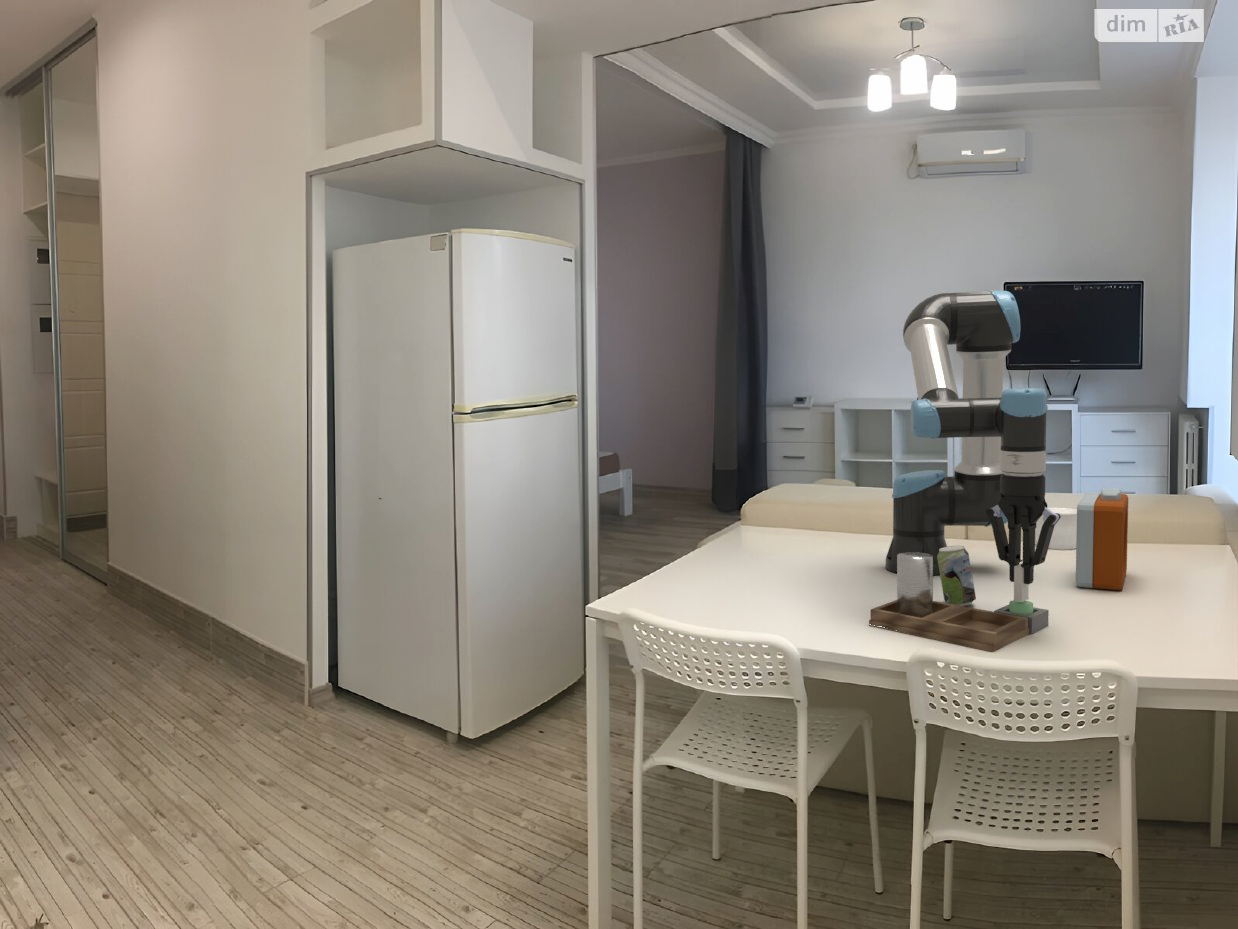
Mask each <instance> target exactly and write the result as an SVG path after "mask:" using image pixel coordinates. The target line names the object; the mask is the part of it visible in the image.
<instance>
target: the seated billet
mask: <svg viewBox="0 0 1238 929" xmlns="http://www.w3.org/2000/svg"><path fill="white" fill-rule="evenodd" d="M896 574H897V575H896V582H897V583H896V584H897V585H896V589H897V590H896V594H897V595H896V596H897V597H896V600H897V613H900V614H905V615H910V616H915V617H920V618H923V617H925V616H927V615H930V614H932V613H933V601H934V599H933V598H934V588H933V587H934V575H933V556H932V555H930V554H926V553H918V552H906V553H900V554H898V555H897V573H896Z"/></svg>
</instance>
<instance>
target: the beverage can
mask: <svg viewBox="0 0 1238 929" xmlns="http://www.w3.org/2000/svg"><path fill="white" fill-rule="evenodd" d="M937 559H938V565H939V571H940V574H939V576H940V581H941V582H940V583H941V587H942V594H943V600H944V603H948V604H953V605H959V606H964V607H966V606H968V605H971V604H973V602H974V601H975V600H976V599H977V596H976V591H975V585H974V584H975V583H974V580H973V579H974V578H973V573H972V566H971V560H970V554H969V551H967V549H966V548H965V546H964V545H949V546H948V545H947V547H943V548H940V549H939V553H938V555H937Z"/></svg>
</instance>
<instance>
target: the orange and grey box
mask: <svg viewBox="0 0 1238 929" xmlns="http://www.w3.org/2000/svg"><path fill="white" fill-rule="evenodd" d="M1076 506H1077V507H1076V510H1077V536H1076V548H1075V551H1076V552H1075V584H1076V586H1077V587H1078V588H1083V589H1096V590H1105V591H1106V590H1108V591H1117V592H1118V591H1122V590H1123V587H1124V584H1125V580H1126V577H1127V576H1126V575H1127V569H1128V568H1127V566H1128V532H1129V529H1128V527H1129V496H1128V494H1126V493H1122V489H1121V488H1105V487H1103V488H1101V489H1100V492H1086V493H1084V494H1083V496H1082V497H1081V499H1080V501H1079V502H1078V504H1077V505H1076Z"/></svg>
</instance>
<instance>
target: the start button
mask: <svg viewBox="0 0 1238 929" xmlns="http://www.w3.org/2000/svg"><path fill="white" fill-rule="evenodd" d="M1008 605H1009V612H1013V613H1018V614H1024V615H1030V614H1032V613H1033V607H1034V603H1033V601H1029V600H1026V601H1023V602H1018V601H1014V599H1013V600H1010V601H1009V604H1008Z"/></svg>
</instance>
